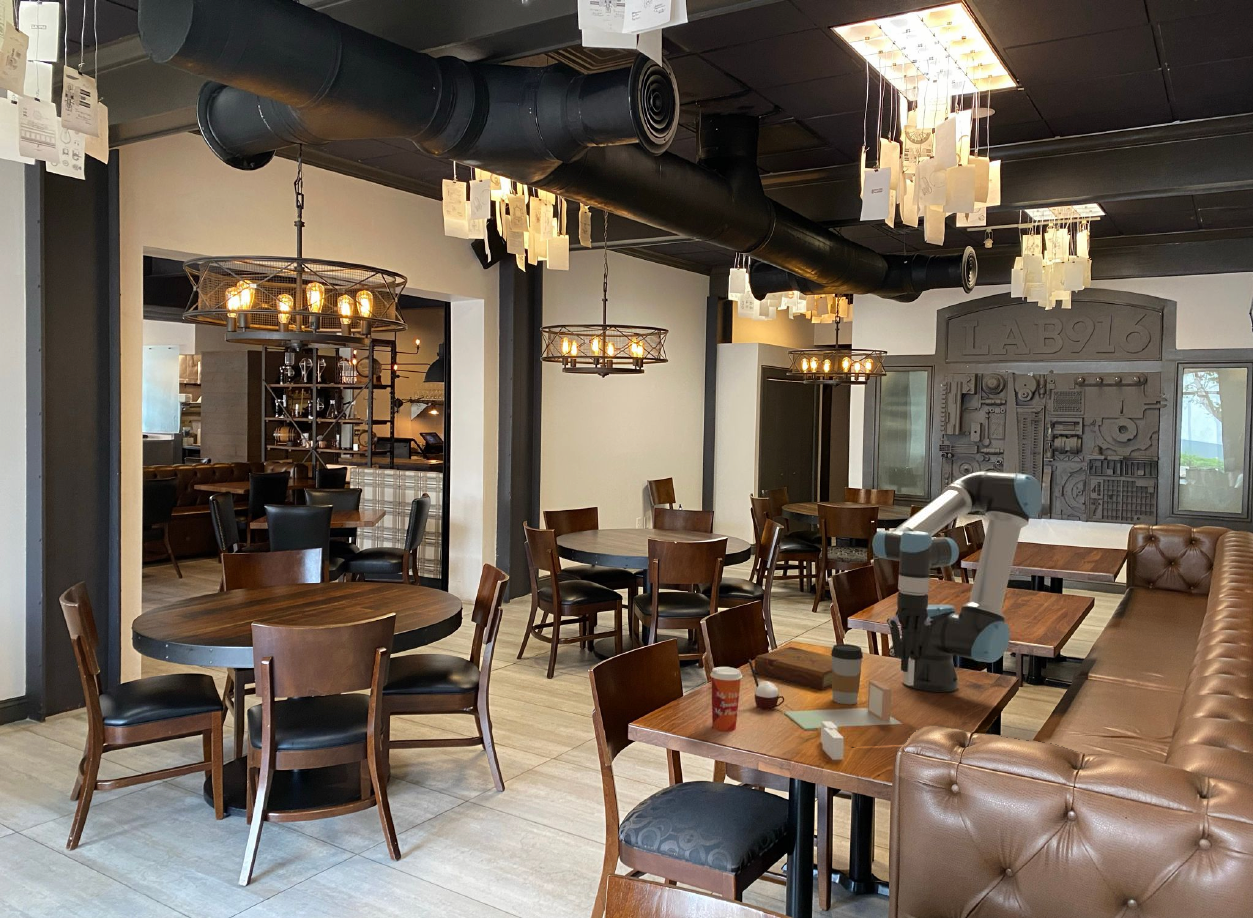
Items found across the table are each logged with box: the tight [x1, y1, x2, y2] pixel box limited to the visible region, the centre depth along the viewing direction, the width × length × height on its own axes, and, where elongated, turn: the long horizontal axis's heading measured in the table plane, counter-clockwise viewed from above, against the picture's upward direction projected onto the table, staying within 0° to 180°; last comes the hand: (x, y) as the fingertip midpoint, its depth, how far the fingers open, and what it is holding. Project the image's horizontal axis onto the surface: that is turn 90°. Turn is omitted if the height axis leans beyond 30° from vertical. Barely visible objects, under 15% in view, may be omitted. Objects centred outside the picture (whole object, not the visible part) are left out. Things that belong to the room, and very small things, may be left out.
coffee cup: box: [830, 643, 864, 706], centre depth 256 cm, size 8×8×15 cm
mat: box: [783, 707, 903, 731], centre depth 242 cm, size 26×13×1 cm, turn 103°
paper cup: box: [710, 666, 743, 732], centre depth 233 cm, size 8×8×14 cm
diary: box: [753, 646, 832, 691], centre depth 282 cm, size 23×19×6 cm
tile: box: [867, 679, 892, 721], centre depth 245 cm, size 2×8×8 cm, turn 13°
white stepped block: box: [820, 721, 845, 761], centre depth 220 cm, size 15×11×6 cm
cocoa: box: [748, 659, 785, 711], centre depth 250 cm, size 10×6×12 cm, turn 55°
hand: (907, 683), depth 246 cm, fingers closed
